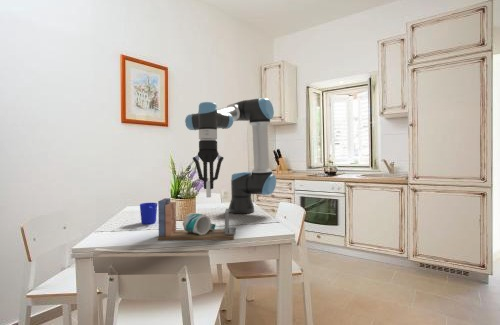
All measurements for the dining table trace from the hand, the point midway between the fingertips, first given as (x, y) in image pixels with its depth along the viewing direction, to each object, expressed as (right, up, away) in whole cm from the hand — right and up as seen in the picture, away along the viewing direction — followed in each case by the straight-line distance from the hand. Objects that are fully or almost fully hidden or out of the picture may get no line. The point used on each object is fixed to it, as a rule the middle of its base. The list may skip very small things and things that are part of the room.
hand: (208, 196), depth 120 cm
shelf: (-4, -16, 0) cm, 17 cm away
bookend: (+9, -15, 0) cm, 17 cm away
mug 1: (-33, -17, +23) cm, 43 cm away
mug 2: (-7, -12, +4) cm, 14 cm away
